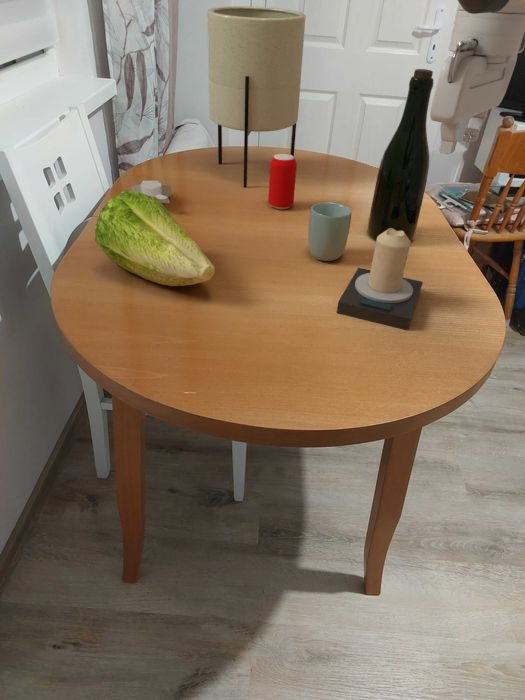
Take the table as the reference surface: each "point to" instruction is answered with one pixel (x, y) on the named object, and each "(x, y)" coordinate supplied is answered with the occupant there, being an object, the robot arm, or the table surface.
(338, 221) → the cup
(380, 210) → the dark wine bottle
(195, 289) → the table surface
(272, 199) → the beverage can
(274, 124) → the planter
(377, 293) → the scale
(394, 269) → the candle
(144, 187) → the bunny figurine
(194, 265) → the lettuce
